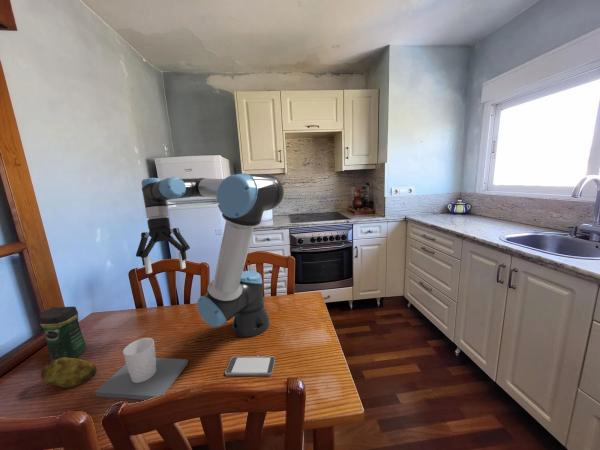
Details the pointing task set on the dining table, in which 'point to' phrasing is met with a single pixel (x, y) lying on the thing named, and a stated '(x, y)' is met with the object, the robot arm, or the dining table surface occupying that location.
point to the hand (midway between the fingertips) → (166, 270)
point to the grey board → (150, 388)
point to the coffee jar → (62, 332)
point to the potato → (68, 372)
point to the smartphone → (250, 366)
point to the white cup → (140, 359)
